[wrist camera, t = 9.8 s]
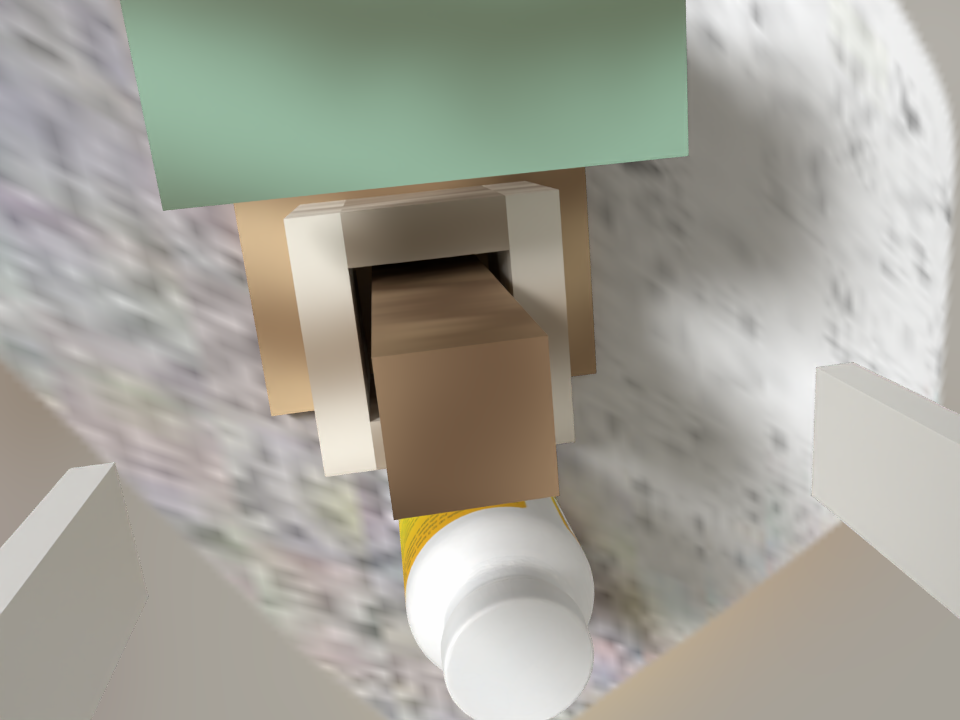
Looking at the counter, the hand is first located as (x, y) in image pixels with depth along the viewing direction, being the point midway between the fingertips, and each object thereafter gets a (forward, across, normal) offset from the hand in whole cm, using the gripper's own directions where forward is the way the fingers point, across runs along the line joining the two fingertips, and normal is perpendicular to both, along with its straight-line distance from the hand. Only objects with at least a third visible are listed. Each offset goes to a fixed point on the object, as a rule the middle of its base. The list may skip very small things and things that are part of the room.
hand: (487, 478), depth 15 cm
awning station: (+20, 0, +4) cm, 20 cm away
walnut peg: (+18, 0, -1) cm, 19 cm away
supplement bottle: (+20, +1, -10) cm, 22 cm away
